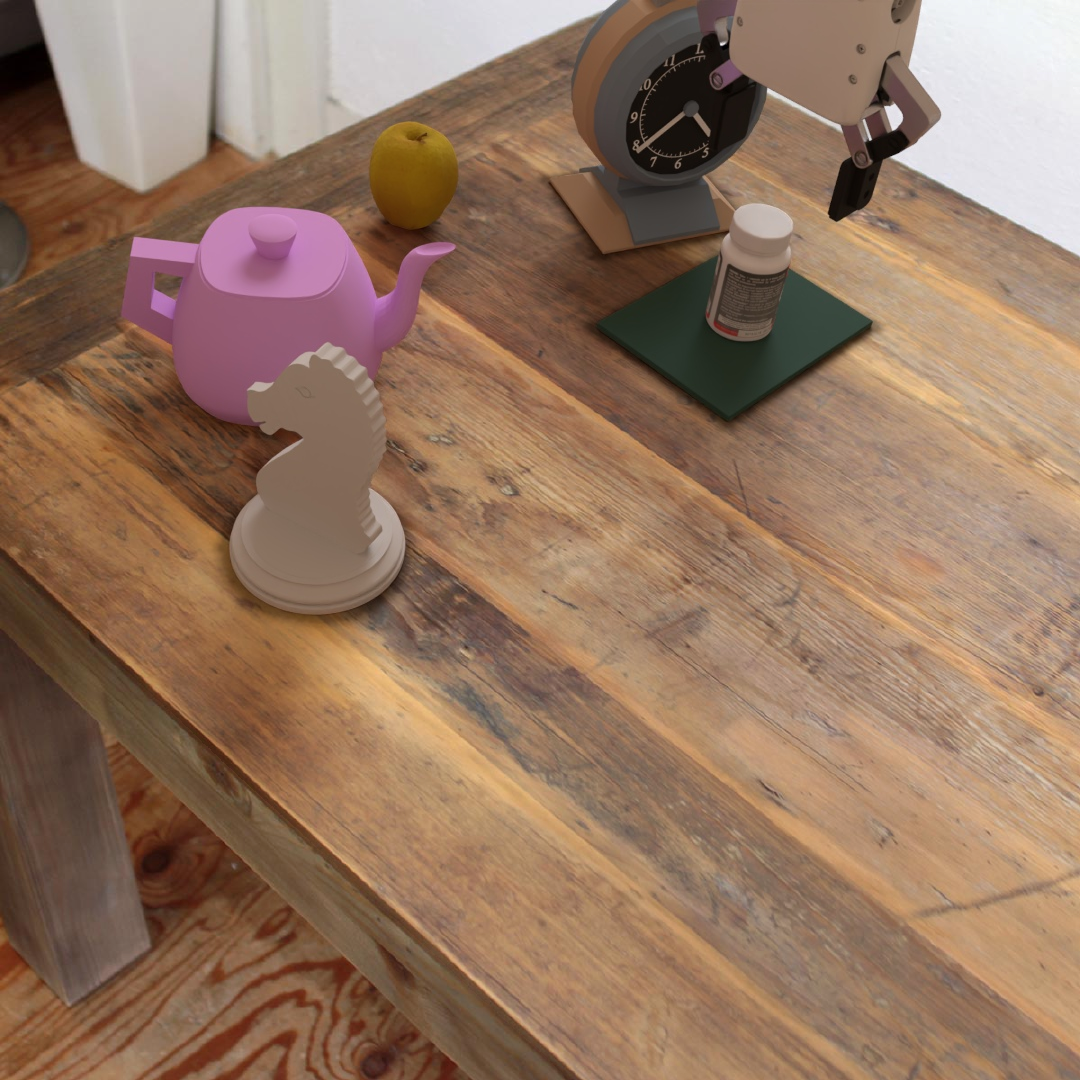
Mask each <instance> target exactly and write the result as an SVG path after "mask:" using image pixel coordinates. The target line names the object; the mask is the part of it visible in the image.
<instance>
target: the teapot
mask: <svg viewBox="0 0 1080 1080" xmlns="http://www.w3.org/2000/svg"><path fill="white" fill-rule="evenodd" d="M456 246H457V245H456V244H454V243H453V242H448V241H436V242H430V243H425V244H422V245H419V246H417V247H415V248H412V250H411V251H409V252H408V253H407V255H406V256H405V257H404V258H403V260H402V261H401V263H400V267H399V272H398V275H397V281H396V285H395V287H394V289H393V290H392V291H391V292H389V293H388V294H385V295H383V296H380V297H377V293H376V291H375V288H374V285H373V282H372V279H371V277H370V275H369V272H368V270H367V268H366V265H365V263H364V261H363V259H362V258H361V256H360V254H359V253H358V251H357V249H356V247H355V246H354V243H353V242H352V240H351V239H350V237H349V235H348V234H347V232H346V230H345V228H343V226H342V225H341V224H340V223H339V222H338V221H337V220H336V219H335V218H333V217H332V216H330V215H328V214H326V213H322V212H319V211H315V210H309V209H301V208H291V207H280V206H245V207H237V208H233V209H230V210H228V211H225V212H224V213H222V214H220V215H219V216H218V217H217V218H215V219H214V221H212V222H211V223H210V225H209V227H208V228H207V229H206V231H205V232H204V235H203V236H202V238H201V240H200V242H199V243H193V242H192V243H191V242H183V241H175V240H174V241H173V240H166V239H157V238H149V237H139V236H133V240H132V245H131V249H130V256H129V262H128V269H127V274H126V280H125V287H124V293H123V299H122V306H121V310H120V317H121V318H123V319H125V320H127V321H129V322H130V323H132V324H133V325H136V326H137V327H139V328H141V329H142V330H144V331H145V332H148V333H150V334H152V335H153V336H155V337H157V338H158V339H160V340H162V341H164V342H166V343H167V344H169V345H171V346H172V348H171V349H172V358H173V363H174V369H175V372H176V375H177V378H178V380H179V382H180V384H181V387H182V388H183V390H184V392H185V394H187V396H188V397H189V398H190V399H191V400H192V402H194V403H195V404H196V405H197V406H198V407H199V408H201V409H202V410H204V412H206V413H208V414H209V415H211V416H212V417H214V418H216V419H219V420H221V421H224V422H227V423H231V424H237V425H244V426H252V427H259V428H260V424H262V423H263V422H254V421H253V420H252V419H251V417H250V415H249V413H248V407H247V399H248V395H247V389H249V388H250V387H251V386H252V385H253V384H254V383H255V382H263V383H272V382H275V380H276V379H277V378H278V377H279V375H280V374H281V373H282V372H283V371H284V370H285V368H287V367H288V366H289V365H290V364H291V363H292V362H293V361H294V360H295V359H297V358H298V357H299V356H300V355H302V354H303V353H305V352H316V351H317V350H318V349H319V348H320V347H322V346H323V345H324V344H325V343H327V342H329V343H331V344H332V345H333V346H335V347H342V348H344V350H345V351H346V353H347V355H349V356H352V357H354V358H355V359H356V360H357V361H358V363H359V364H360V365H361V366H363V367H365V368H366V369H367V373H368V377H369V378H370V379H371V380H372V381H373V382H374V380H375V379H376V376H377V374H378V371H379V368H380V365H381V362H382V359H383V353H384V352H386V351H388V350H390V349H392V348H394V347H396V346H397V345H398V344H399V343H401V341H403V340H404V339H405V338H406V336H407V335H408V334H409V332H410V330H411V329H412V327H413V325H414V322H415V319H416V316H417V313H418V308H419V304H420V303H419V302H420V295H421V289H422V284H423V280H424V278H425V276H426V273H427V272H428V270H429V268H430V267H431V266H432V265H433V264H434V263H435V262H436V261H438V260H440V259H441V258H443V257H445V256H448V255H449V254H450V253H453V252H454V250H455V249H456ZM156 273H159V274H163V275H169V276H174V277H179V278H182V280H181V284H180V286H179V290H178V292H177V296H176V300H175V299H174V298H172V297H170V296H168V295H166V294H164V293H163V292H161V291H159V290H158V289H156V288H155V278H156V276H155V275H156Z"/></svg>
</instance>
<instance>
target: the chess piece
mask: <svg viewBox="0 0 1080 1080" xmlns="http://www.w3.org/2000/svg"><path fill="white" fill-rule="evenodd" d="M247 395H248V399H247V407H248V413H249V415H250V417H251V419H252V420H253V421H254V422H263V423H262V424H260V427H259V429H260V430H261V431H262V433H264V434H266V435H268V436H273V434H275V433H276V432H277V431H279V430H280V429H284V430H286V431H288V432H295V433H297V434H298V435H299V436H301V437H302V438H301V439H299V440H298V441H295V442H293V443H292V444H290V445H288V446H287V447H285V448H284V449H282V450H281V451H279V453H277V454H276V455H274V456H273V457H272V458H271V459H270V460H269V461H268V462H267V463H265V464H264V466H262V467H261V468H260V469H259V470H258V472H257V474H256V478H255V487H256V490H257V494H256V495H255V496H253V497H252V498H251V499H250V500H249V501H248V502H246V504H245V505H244V506H243V508H242V509H241V510H240V512H239V513H238V515H237V516H236V518H235V520H234V523H233V525H232V530H231V533H230V536H229V547H228V548H229V549H228V550H229V559H230V562H231V566H232V569H233V571H234V574H235V575H236V577H237V579H238V580H239V581H240V583H241V584H242V586H243V587H244V588H245V589H246V590H247V591H248V592H249V593H251V594H252V595H253V596H255V597H256V598H257V599H259V600H260V601H262V602H263V603H265V604H267V605H269V606H271V607H274V608H276V609H279V610H282V611H284V612H289V613H295V614H302V615H314V616H315V615H316V616H317V615H320V616H321V615H331V614H336V613H341V612H345V611H350V610H352V609H355V608H358V607H360V606H362V605H365V604H367V603H369V602H370V601H372V600H374V599H376V597H378V596H379V595H381V594H383V592H384V591H385V590H386V589H387V588H389V587H390V585H391V584H392V583H393V582H394V580H395V579H396V578H397V576H398V575H399V572H400V571H401V569H402V566H403V563H404V560H405V555H406V536H405V532H404V528H403V525H402V523H401V519H400V517H399V515H398V513H397V512H396V510H395V509H394V508H393V506H392V505H391V504H390V502H388V500H387V499H385V497H383V496H382V495H381V494H380V493H378V492H377V491H376V490H374V489H372V488H371V486H372V480H373V477H374V475H375V474H376V473H377V472H378V470H379V469H378V468H379V467H380V465H381V461H382V460H383V459H384V456H383V455H384V453H386V451H388V449H387V445H386V443H387V441H388V439H387V436H386V435H387V428H386V426H385V425H386V423H387V418H386V417H385V415H384V405H383V403H382V402H381V400H380V396H381V394H380V392H379V391H378V390H377V389H376V388H375V382H374V381H372V380H371V379H370V378H369V377H368V373H367V369H366V368H365V367H363V366H361V365H360V364H359V363H358V361H357V360H356V359H355V358H354V357H352V356H349V355H347V353H346V351H345V350H344V348H342V347H335V346H333V345H332V344H331V343H329V342H327V343H325V344H324V345H323V346H322V347H320V348H319V349H318V350H317V351H316V352H305V353H303V354H302V355H300V356H299V357H298V358H297V359H295V360H294V361H293V362H292V363H291V364H290V365H289V366H288V367H287V368H285V370H284V371H283V372H282V373H281V374H280V375H279V377H278V378H277V379H276V380H275V382H272V383H263V382H255V383H254V384H253V385H252V386H251V387H250V388H249V389H247Z"/></svg>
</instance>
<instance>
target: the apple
mask: <svg viewBox="0 0 1080 1080" xmlns="http://www.w3.org/2000/svg"><path fill="white" fill-rule="evenodd" d="M368 177H369V178H368V179H369V187H370V192H371V195H372V198H373V201H374V204H375V205H376V207H377V209H378V210H379V213H380V214H381V216H382V217H383V218H384V220H386V222H388V223H389V224H391V225H393V226H395V227H398V228H401V229H405V230H407V231H411V230H412V231H415V230H418V229H422V228H426V227H428V226H429V225H431V224H433V223H435V222H437V221H438V220H439V219H440V217H441V216H442V214H443V213H444V211H445V210H446V208H447V207H448V206H449V205H450V203H451V201H452V200H453V198H454V195H455V193H456V191H457V188H458V183H459V161H458V157H457V153H456V150H455V148H454V146H453V144H452V143H451V142H450V141H449V139H448V138H447V137H446V136H445V135H444V134H443V133H442V132H440V131H438V130H436V129H434V128H432V127H431V126H429V125H426V124H424V123H420V122H417V121H410V120H409V121H403V122H398V123H394V124H393V125H390V126H389V127H388V128H386V129H384V130H383V131H382V133H380V134H379V136H378V137H377V139H376V141H375V142H374V145H373V147H372V151H371V154H370V158H369V167H368Z"/></svg>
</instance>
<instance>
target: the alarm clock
mask: <svg viewBox="0 0 1080 1080" xmlns="http://www.w3.org/2000/svg"><path fill="white" fill-rule="evenodd" d="M697 1H698V0H615V1H614V2H612V4H610V5H609V6H608V7H606V9H604V10H603V11H602V13H601V14H599V16H598V17H597V19H596V20H595V21H594V23H593V24H592V25H591V27H590V28H589V29H588V31H587V33H586V34H585V37H584V39H583V41H582V43H581V44H580V46H579V49H578V50H577V55H576V59H575V62H574V65H573V66H574V67H573V71H572V74H571V83H570V85H571V87H570V89H571V91H570V93H571V97H570V98H571V103H572V116H573V120H574V122H575V126H576V129H577V133H578V135H579V136H580V137H581V139H582V140H583V142H584V143H585V144H586V146H587V148H588V149H589V150H590V151H591V152H592V154H593V155H594V157H595V158H596V159H597V160H598V161H599V163H601V164H598V165H592V166H586V167H580V168H578V173H572V174H566V175H560V176H553V177H549V183H550V184H551V185H552V187H553V188H554V190H555V191H556V192H557V194H558V195H559V196H560V198H561V199H562V200H563V202H564V203H565V204H566V206H567V207H568V208H569V210H570V211H571V213H572V214H573V215H574V217H575V218H576V219H577V221H578V222H579V224H580V225H581V226H582V228H583V229H584V230H585V232H586V233H587V234H588V235H589V237H590V238H591V240H592V241H593V243H594V244H595V246H597V248H598V249H599V250H600V252H601V254H603V255H606V254H611V253H617V252H623V251H627V250H634V249H638V248H639V249H640V248H644V247H650V246H654V245H655V246H656V245H659V244H664V243H670V242H671V243H672V242H676V241H681V240H687V239H693V238H698V237H703V236H708V235H713V234H718V233H724V232H730V231H729V229H730V225H731V222H732V218H733V215H734V212H735V211H736V210H737V209H735V208H734V207H733V206H732V205H731V203H730V202H729V201H728V199H726V197H725V195H723V194H722V193H721V192H720V191H719V189H718V188H717V187H716V186H715V185H714V184H713V182H712V181H711V180H710V179H709V177H708V176H707V175H708V174H709V173H712V172H713V171H715V170H717V169H718V168H719V167H721V165H724V163H725V162H727V161H728V160H729V159H730V158H732V157H733V156H734V155H735V154H736V152H737V151H738V150H740V148H741V147H742V146H743V145H744V144H745V142H746V141H747V140H748V139H749V137H750V136H751V133H752V132H753V131H754V129H755V128H756V125H757V124H758V122H759V120H760V118H761V115H762V112H763V110H764V107H765V104H766V101H767V96H768V88H767V87H765V86H763V85H762V84H760V83H758V82H756V84H755V86H756V92H755V97H754V101H753V106H752V111H751V116H750V121H749V125H748V130H747V134H746V137H745V138H744V139H742V140H740V141H739V142H737V143H735V144H733V145H731V146H729V147H727V148H725V149H723V150H721V151H717V152H714V151H712V150H710V149H709V148H708V142H709V136H710V131H711V126H710V121H711V116H712V111H713V105H714V100H715V94H716V89H714V88H713V87H712V86H711V84H710V80H709V78H710V74H711V73H712V70H711V68H710V66H709V64H708V61H707V59H706V57H705V54H704V52H703V50H702V47H701V40H702V38H703V33H701V30H700V25H699V20H698V15H697V10H696V4H697ZM733 19H734V16H728V17H727V24H728V26H726V27H727V29H728V30H729V31H730V32H731V29H732V24H733Z"/></svg>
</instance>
